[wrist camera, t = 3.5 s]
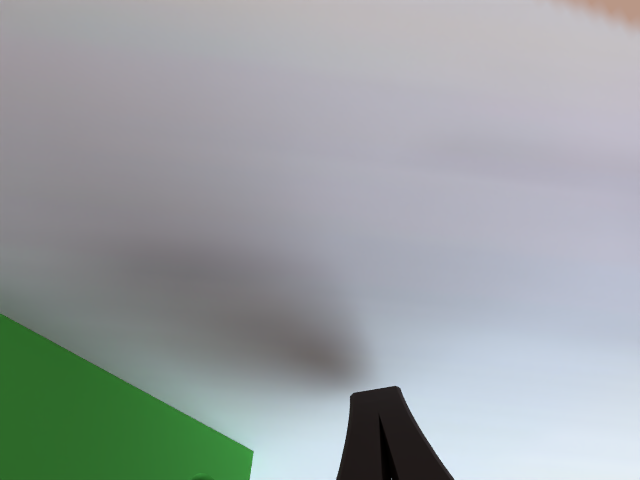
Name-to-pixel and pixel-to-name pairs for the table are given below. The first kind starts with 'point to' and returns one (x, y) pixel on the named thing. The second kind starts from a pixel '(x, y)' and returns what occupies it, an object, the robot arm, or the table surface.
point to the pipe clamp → (96, 422)
